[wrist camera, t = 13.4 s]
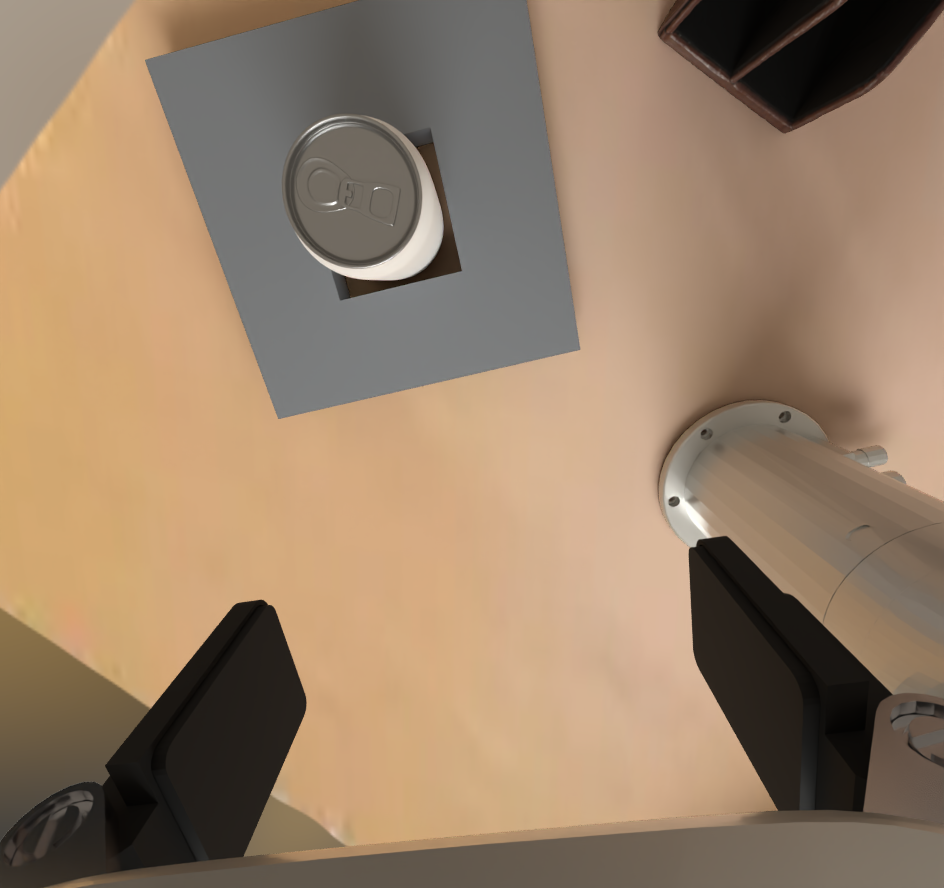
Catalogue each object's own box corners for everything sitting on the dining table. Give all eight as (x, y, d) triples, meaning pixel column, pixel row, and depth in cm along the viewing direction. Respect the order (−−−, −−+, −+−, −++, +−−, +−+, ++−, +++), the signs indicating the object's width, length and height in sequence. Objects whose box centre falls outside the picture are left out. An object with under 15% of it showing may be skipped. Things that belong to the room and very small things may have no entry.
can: (352, 156, 29) (281, 77, 18) (455, 186, 30) (449, 128, 19) (334, 265, 31) (261, 256, 20) (431, 291, 32) (414, 297, 21)
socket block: (513, -10, 27) (519, -45, 24) (570, 343, 33) (580, 349, 30) (177, 82, 28) (144, 59, 25) (293, 407, 34) (278, 418, 31)
